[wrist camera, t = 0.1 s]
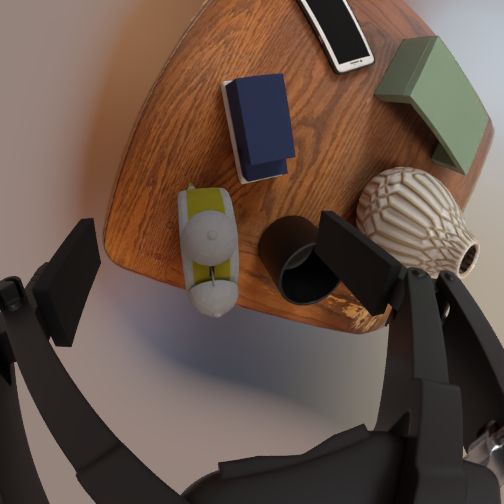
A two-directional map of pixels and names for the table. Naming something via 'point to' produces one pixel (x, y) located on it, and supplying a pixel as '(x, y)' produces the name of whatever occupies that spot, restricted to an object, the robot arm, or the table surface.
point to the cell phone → (339, 34)
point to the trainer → (258, 126)
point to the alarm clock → (209, 248)
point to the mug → (296, 261)
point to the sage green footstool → (437, 98)
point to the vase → (417, 222)
